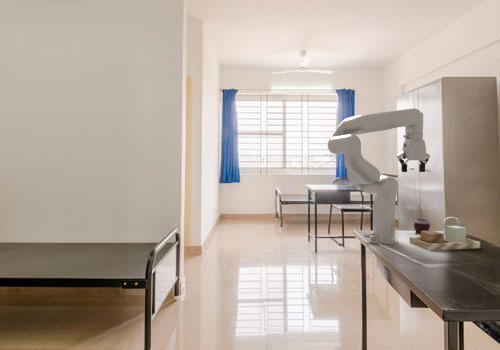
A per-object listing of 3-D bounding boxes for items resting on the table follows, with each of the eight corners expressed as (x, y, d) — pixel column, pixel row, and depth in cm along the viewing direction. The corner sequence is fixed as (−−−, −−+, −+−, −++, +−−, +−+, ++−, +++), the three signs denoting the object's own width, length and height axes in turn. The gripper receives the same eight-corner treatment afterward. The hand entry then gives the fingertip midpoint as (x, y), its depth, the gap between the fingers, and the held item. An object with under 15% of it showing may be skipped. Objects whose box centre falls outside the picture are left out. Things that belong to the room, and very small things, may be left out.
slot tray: (428, 252, 116) (429, 244, 116) (409, 244, 128) (409, 237, 128) (480, 250, 120) (480, 242, 120) (456, 242, 131) (456, 235, 131)
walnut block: (430, 247, 119) (431, 234, 119) (420, 244, 125) (420, 230, 125) (443, 247, 120) (443, 233, 120) (432, 243, 126) (432, 230, 126)
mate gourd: (424, 237, 141) (425, 208, 141) (409, 234, 148) (409, 206, 148) (432, 235, 145) (433, 207, 144) (417, 232, 152) (418, 205, 151)
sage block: (455, 246, 122) (455, 228, 121) (445, 243, 127) (446, 225, 126) (465, 246, 122) (466, 228, 122) (455, 242, 127) (456, 225, 127)
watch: (463, 241, 134) (464, 218, 133) (443, 239, 137) (444, 217, 137) (460, 238, 139) (461, 216, 138) (441, 236, 142) (442, 215, 142)
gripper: (403, 136, 133) (402, 172, 133) (435, 137, 135) (434, 172, 135) (392, 138, 140) (392, 171, 141) (424, 138, 142) (423, 171, 143)
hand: (413, 172), depth 138 cm, fingers open, 9 cm apart
